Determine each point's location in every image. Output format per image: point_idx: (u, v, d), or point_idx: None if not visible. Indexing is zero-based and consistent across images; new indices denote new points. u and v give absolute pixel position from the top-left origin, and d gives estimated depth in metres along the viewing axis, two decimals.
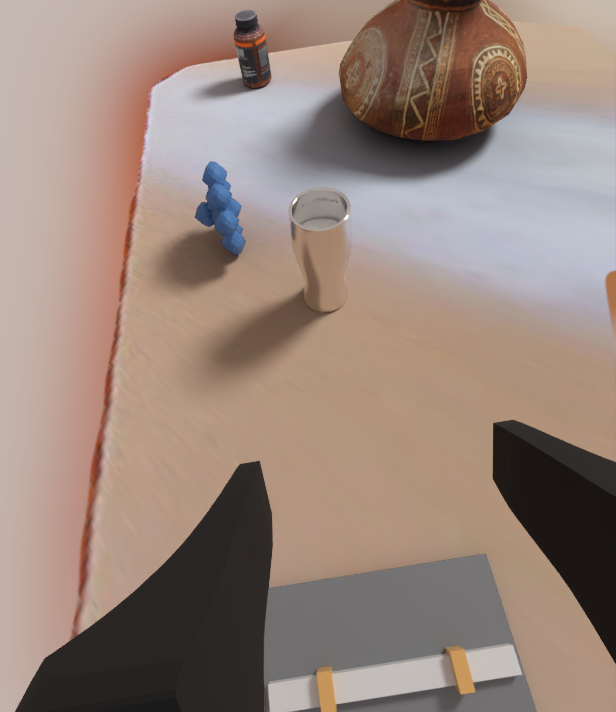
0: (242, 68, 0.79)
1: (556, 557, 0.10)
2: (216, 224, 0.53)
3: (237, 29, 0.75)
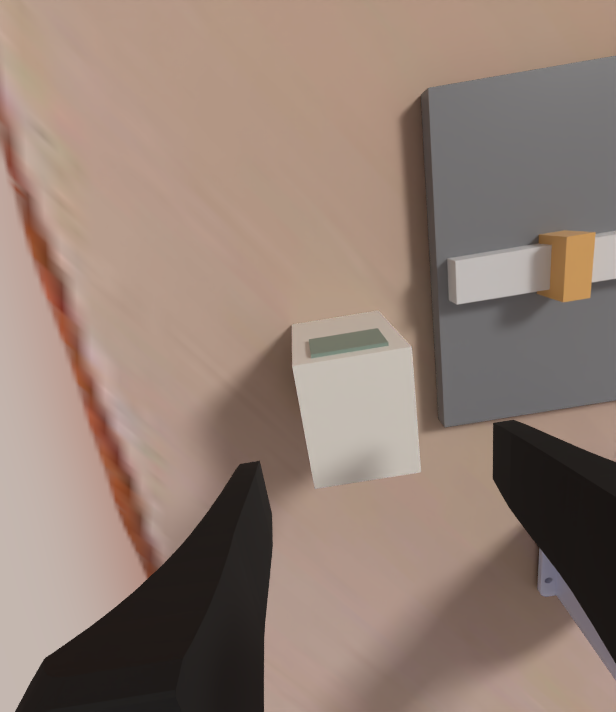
0: None
1: (556, 557, 0.10)
2: None
3: None
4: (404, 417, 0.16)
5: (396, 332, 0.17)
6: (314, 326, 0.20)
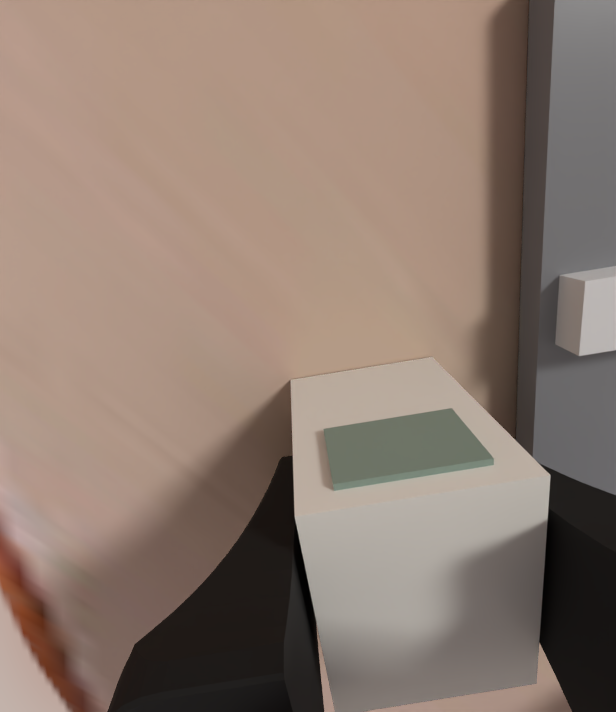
0: None
1: None
2: None
3: None
4: (518, 599, 0.08)
5: (491, 420, 0.09)
6: (329, 389, 0.12)
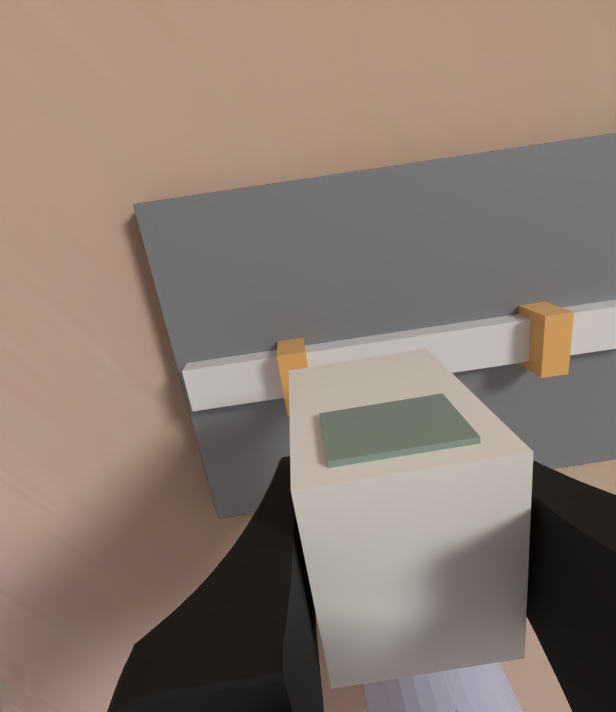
0: None
1: None
2: None
3: None
4: (505, 574, 0.08)
5: (480, 404, 0.09)
6: (326, 378, 0.12)
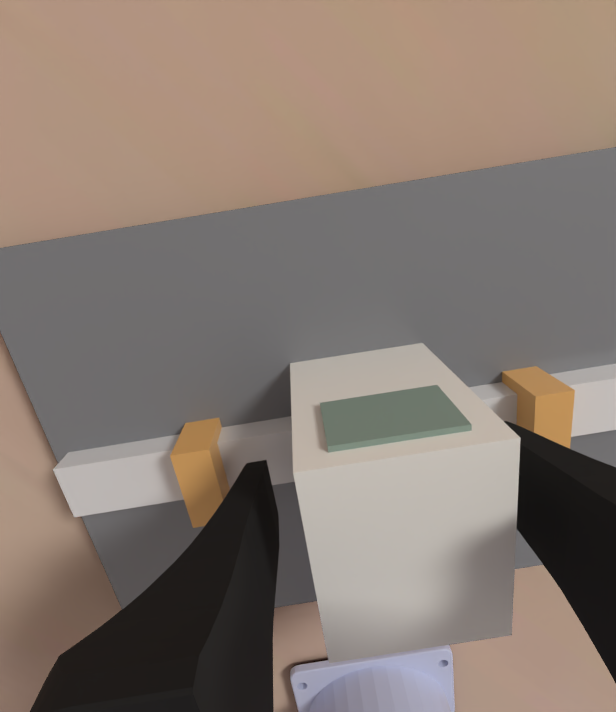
0: None
1: (548, 558, 0.10)
2: None
3: None
4: (494, 554, 0.09)
5: (472, 395, 0.10)
6: (326, 370, 0.12)
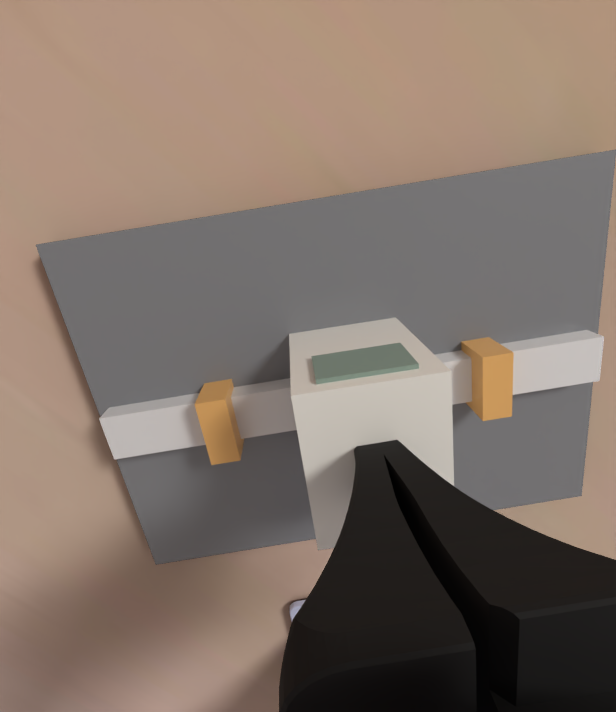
0: None
1: None
2: None
3: None
4: (438, 461, 0.12)
5: (425, 348, 0.13)
6: (317, 337, 0.16)
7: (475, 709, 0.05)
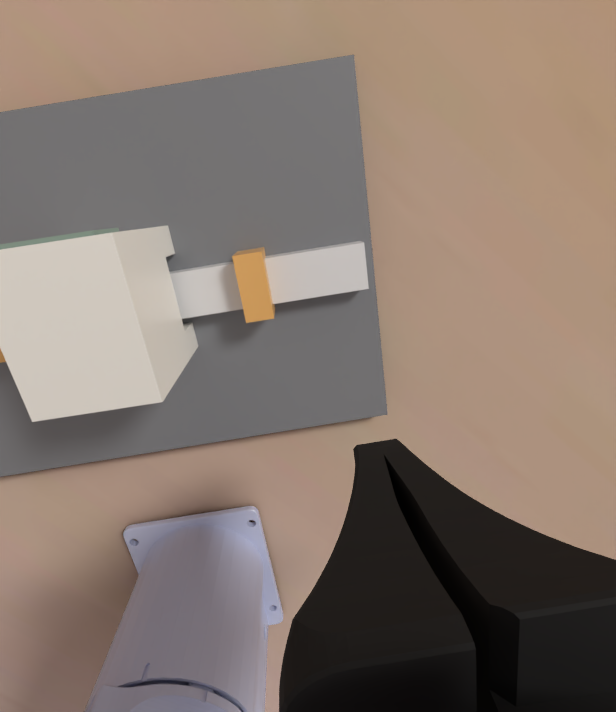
0: None
1: None
2: None
3: None
4: (125, 328, 0.13)
5: (132, 230, 0.14)
6: None
7: (476, 708, 0.05)
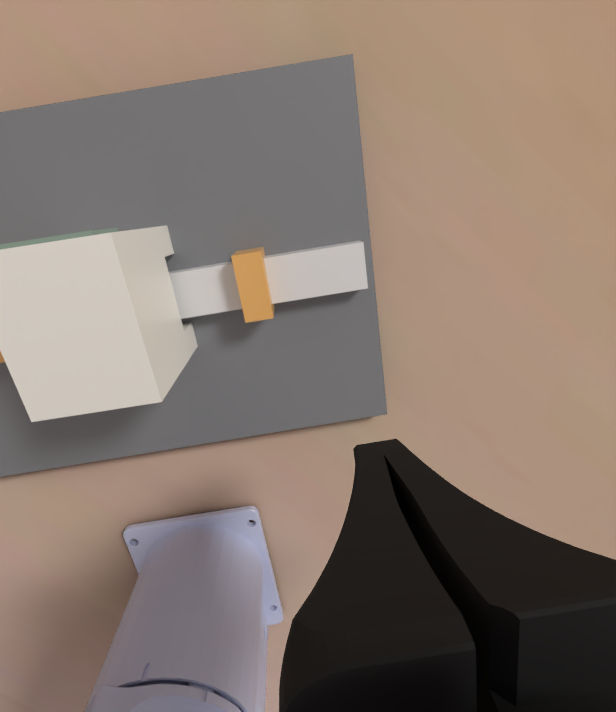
0: None
1: None
2: None
3: None
4: (124, 328, 0.13)
5: (131, 230, 0.14)
6: None
7: (475, 708, 0.05)
